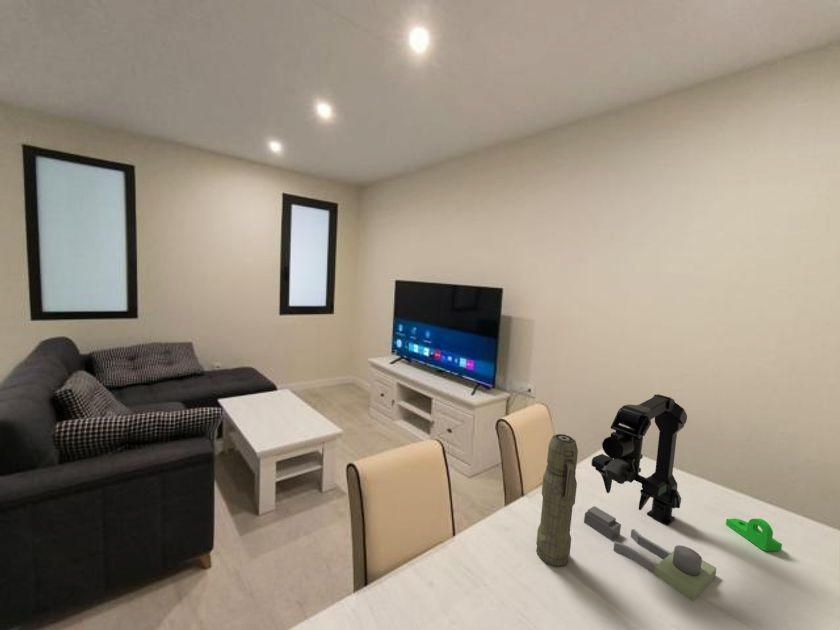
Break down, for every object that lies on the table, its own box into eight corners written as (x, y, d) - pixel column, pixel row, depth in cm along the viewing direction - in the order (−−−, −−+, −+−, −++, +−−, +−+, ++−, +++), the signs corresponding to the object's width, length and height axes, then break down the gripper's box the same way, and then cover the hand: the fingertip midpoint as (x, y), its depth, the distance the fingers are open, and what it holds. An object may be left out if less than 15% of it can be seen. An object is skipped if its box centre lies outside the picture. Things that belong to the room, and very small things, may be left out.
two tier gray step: (592, 519, 119) (593, 504, 118) (619, 536, 111) (621, 520, 111) (583, 524, 116) (585, 509, 115) (611, 541, 108) (613, 525, 108)
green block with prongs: (638, 531, 114) (640, 512, 113) (715, 576, 97) (718, 554, 97) (611, 549, 105) (614, 529, 104) (692, 602, 88) (695, 578, 88)
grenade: (549, 574, 94) (562, 448, 91) (527, 542, 106) (538, 429, 103) (579, 571, 96) (592, 447, 93) (554, 539, 107) (565, 428, 104)
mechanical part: (781, 550, 109) (785, 525, 109) (764, 551, 109) (768, 526, 108) (740, 523, 121) (744, 501, 121) (725, 524, 120) (729, 502, 120)
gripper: (583, 442, 106) (578, 492, 108) (651, 472, 91) (644, 529, 92) (603, 435, 113) (598, 482, 114) (670, 462, 97) (663, 515, 99)
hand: (623, 500), depth 105 cm, fingers open, 9 cm apart
